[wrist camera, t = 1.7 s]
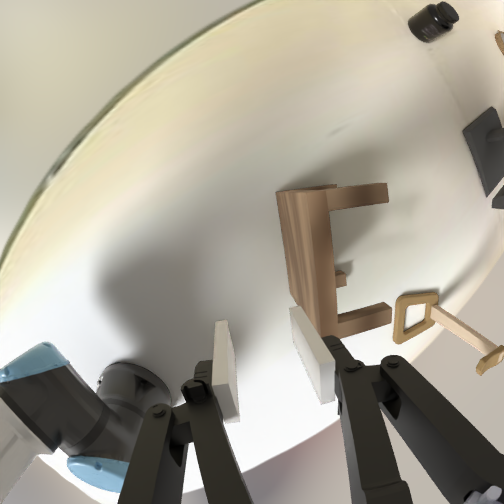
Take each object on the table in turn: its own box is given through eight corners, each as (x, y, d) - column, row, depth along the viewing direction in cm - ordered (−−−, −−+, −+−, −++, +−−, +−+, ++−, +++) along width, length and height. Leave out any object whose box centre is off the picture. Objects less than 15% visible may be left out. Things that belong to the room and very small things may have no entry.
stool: (290, 293, 44) (321, 343, 28) (275, 192, 40) (305, 192, 25) (341, 281, 44) (391, 323, 29) (331, 184, 41) (386, 183, 25)
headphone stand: (395, 296, 46) (474, 352, 25) (436, 284, 47) (513, 326, 25) (391, 343, 49) (455, 407, 27) (431, 328, 49) (496, 378, 28)
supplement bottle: (404, 14, 34) (433, -9, 22) (428, 26, 35) (458, 7, 23) (409, 35, 35) (441, 13, 24) (433, 48, 36) (466, 30, 24)
